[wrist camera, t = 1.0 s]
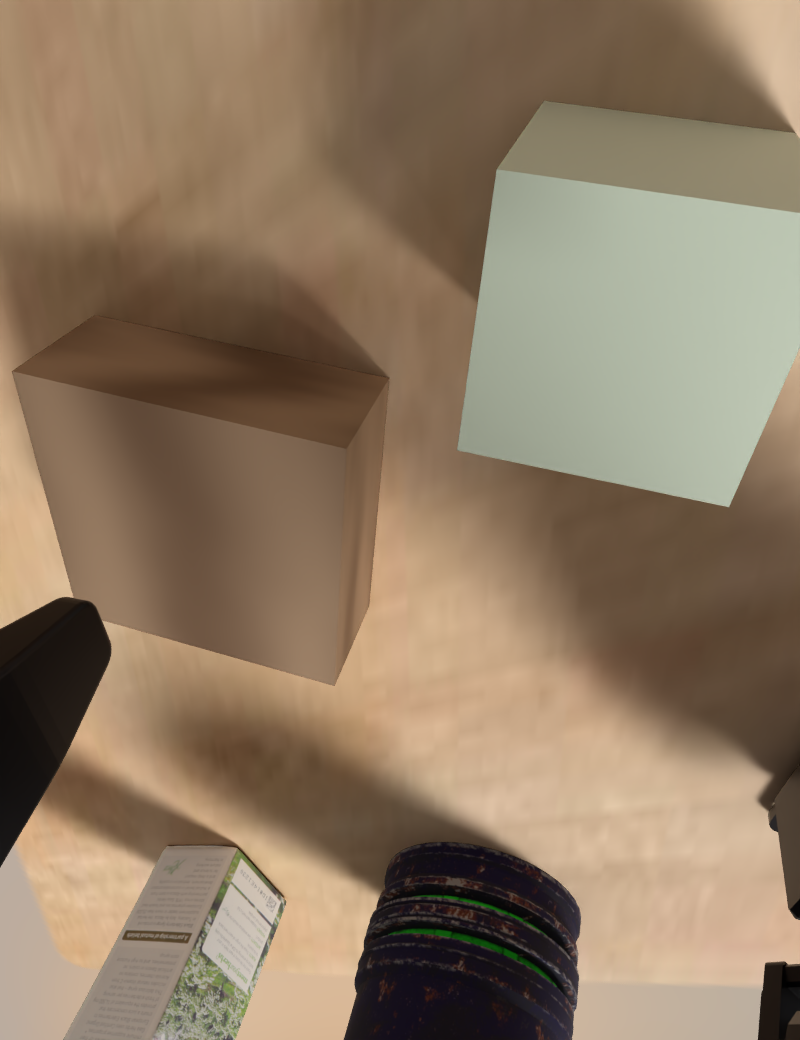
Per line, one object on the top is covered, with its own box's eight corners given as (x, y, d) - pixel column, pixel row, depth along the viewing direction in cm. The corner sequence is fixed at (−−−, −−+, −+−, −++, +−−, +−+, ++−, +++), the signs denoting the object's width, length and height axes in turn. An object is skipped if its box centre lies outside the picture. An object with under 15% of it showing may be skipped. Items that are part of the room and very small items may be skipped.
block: (392, 373, 21) (346, 448, 18) (371, 599, 26) (334, 685, 23) (101, 311, 22) (11, 371, 19) (141, 539, 28) (78, 613, 25)
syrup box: (162, 843, 43) (-9, 1158, 32) (241, 843, 40) (84, 1187, 29) (215, 897, 45) (74, 1204, 34) (293, 900, 43) (167, 1235, 32)
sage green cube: (795, 132, 15) (855, 221, 10) (711, 361, 18) (728, 507, 13) (544, 100, 16) (496, 168, 11) (506, 324, 19) (457, 450, 14)
